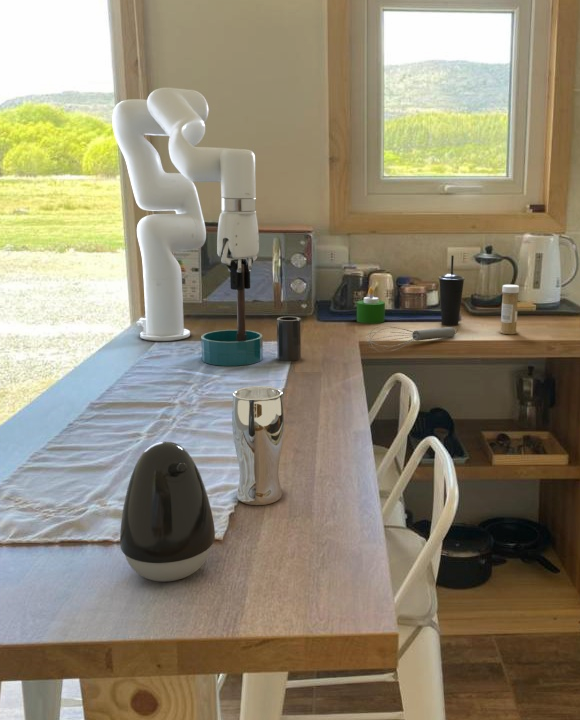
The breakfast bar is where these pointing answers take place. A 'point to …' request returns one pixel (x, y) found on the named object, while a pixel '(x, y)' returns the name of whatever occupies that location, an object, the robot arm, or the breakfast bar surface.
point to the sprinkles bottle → (509, 309)
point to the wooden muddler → (241, 312)
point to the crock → (289, 338)
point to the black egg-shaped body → (166, 515)
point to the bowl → (231, 348)
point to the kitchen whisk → (420, 335)
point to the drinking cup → (450, 296)
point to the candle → (370, 309)
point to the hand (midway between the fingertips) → (240, 288)
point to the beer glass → (258, 442)
